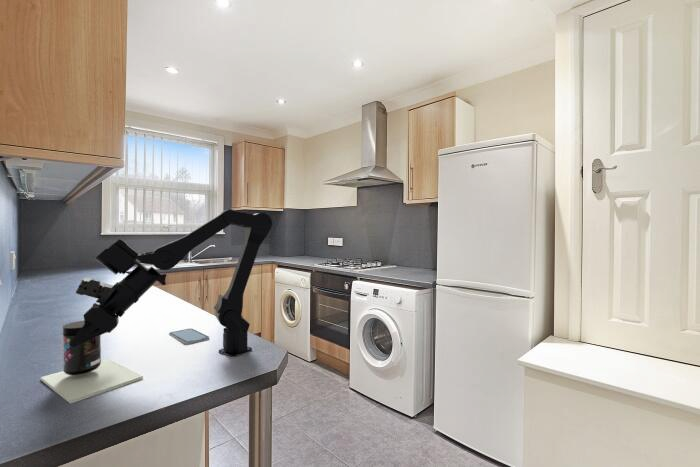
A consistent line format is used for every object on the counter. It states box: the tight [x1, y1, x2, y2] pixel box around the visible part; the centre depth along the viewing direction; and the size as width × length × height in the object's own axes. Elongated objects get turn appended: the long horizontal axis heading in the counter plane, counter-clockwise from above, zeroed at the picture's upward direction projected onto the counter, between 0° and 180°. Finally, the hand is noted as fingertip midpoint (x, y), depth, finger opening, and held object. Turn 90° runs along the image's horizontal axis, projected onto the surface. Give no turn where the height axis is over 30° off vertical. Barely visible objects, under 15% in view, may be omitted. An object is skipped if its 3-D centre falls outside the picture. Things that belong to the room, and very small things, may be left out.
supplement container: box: [61, 320, 102, 375], centre depth 75 cm, size 7×7×10 cm
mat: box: [40, 358, 144, 405], centre depth 74 cm, size 18×13×1 cm
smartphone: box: [168, 328, 210, 345], centre depth 104 cm, size 7×1×15 cm
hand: (74, 341), depth 74 cm, fingers closed on supplement container, 7 cm apart
